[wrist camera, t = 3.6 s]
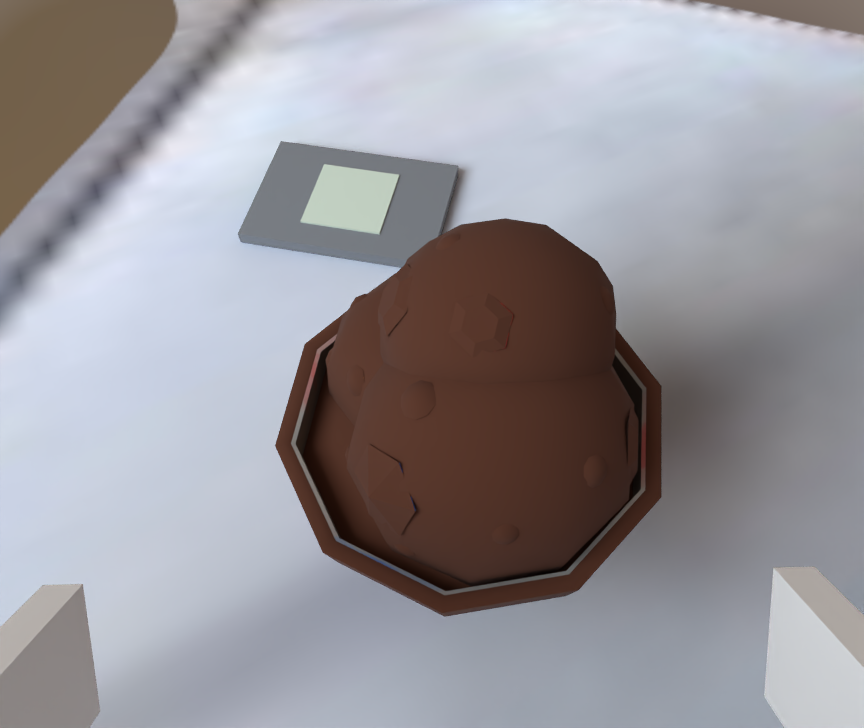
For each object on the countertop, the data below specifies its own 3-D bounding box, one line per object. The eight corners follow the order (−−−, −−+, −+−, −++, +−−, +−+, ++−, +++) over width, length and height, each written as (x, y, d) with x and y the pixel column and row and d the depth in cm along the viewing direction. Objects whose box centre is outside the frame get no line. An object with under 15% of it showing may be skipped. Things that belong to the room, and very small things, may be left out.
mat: (458, 174, 40) (458, 164, 40) (430, 272, 37) (430, 262, 36) (283, 149, 41) (280, 139, 41) (240, 242, 38) (237, 232, 37)
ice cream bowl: (313, 432, 32) (221, 164, 20) (572, 392, 33) (645, 108, 20) (336, 701, 27) (229, 569, 14) (648, 646, 27) (813, 474, 15)
